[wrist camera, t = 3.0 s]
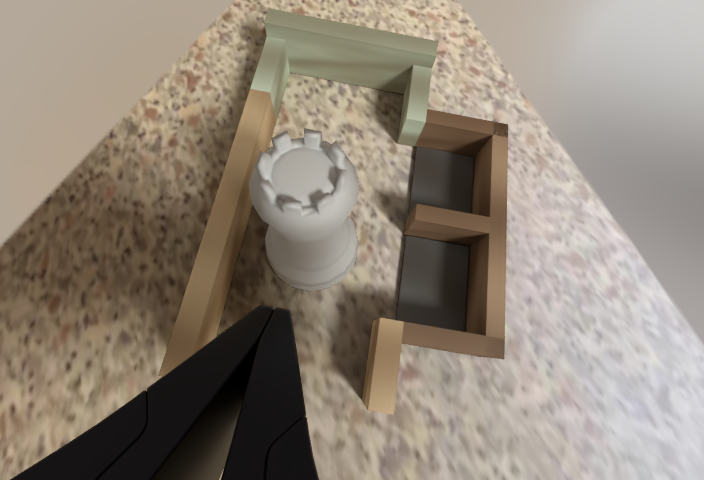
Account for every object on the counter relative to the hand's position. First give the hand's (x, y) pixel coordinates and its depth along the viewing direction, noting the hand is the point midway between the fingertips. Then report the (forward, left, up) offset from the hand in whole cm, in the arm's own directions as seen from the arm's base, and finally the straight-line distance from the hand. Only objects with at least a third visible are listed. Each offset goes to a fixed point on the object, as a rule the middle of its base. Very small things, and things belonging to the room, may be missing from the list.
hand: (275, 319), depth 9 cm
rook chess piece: (+3, +3, -7) cm, 8 cm away
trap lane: (+6, +3, -7) cm, 10 cm away
